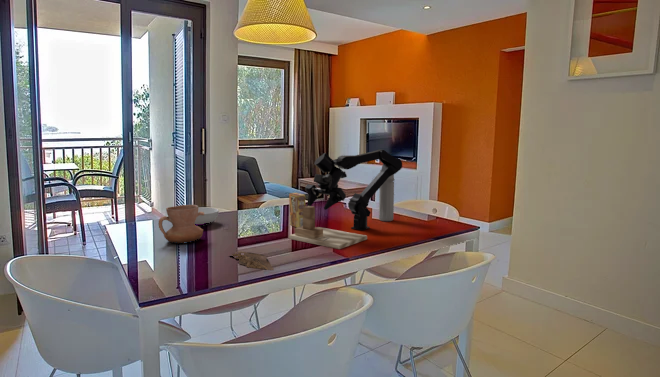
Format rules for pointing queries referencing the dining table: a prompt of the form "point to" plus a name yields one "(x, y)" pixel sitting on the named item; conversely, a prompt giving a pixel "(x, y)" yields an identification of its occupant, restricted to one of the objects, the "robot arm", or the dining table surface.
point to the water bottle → (386, 200)
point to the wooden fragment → (253, 260)
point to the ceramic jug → (182, 224)
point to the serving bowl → (206, 215)
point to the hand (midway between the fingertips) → (316, 208)
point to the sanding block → (309, 224)
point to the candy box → (296, 209)
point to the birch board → (332, 238)
